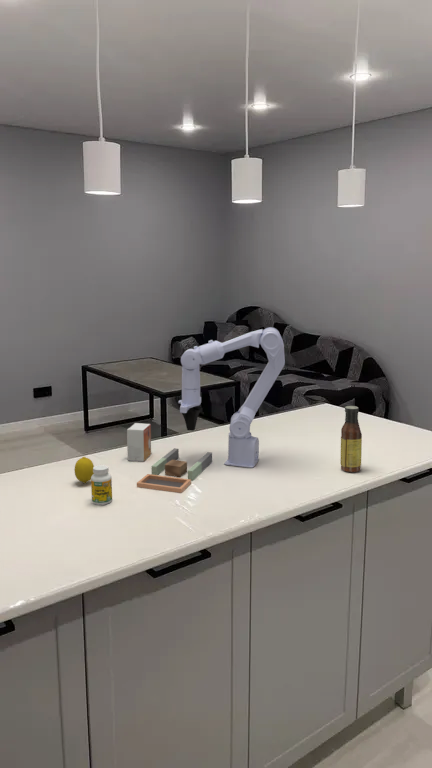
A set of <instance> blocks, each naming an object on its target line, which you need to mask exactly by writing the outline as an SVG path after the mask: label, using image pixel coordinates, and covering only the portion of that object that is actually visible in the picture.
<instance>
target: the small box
mask: <svg viewBox="0 0 432 768" xmlns="http://www.w3.org/2000/svg"><path fill="white" fill-rule="evenodd" d="M151 427H152V425H151V423H141V422H134V423H133V424H132V425H131V426H130V427H128V428H127V429H126V444H127V445H126V446H127V449H126V450H127V451H126V452H127V461H133V462H145V461H146V460H147V459H148V458H149V457H150V456H151V455H152V431H151V430H152V428H151Z"/></svg>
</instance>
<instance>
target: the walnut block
mask: <svg viewBox="0 0 432 768" xmlns="http://www.w3.org/2000/svg"><path fill="white" fill-rule="evenodd" d="M186 473H187V474H188V461H185V460H178V459H176V460H171V461H169V462H168V463H166V464H165V469H164V476H167V477H175V478H181V477H183V476H184V475H185V474H186Z"/></svg>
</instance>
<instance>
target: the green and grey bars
mask: <svg viewBox="0 0 432 768" xmlns="http://www.w3.org/2000/svg"><path fill="white" fill-rule="evenodd" d="M179 452H180V451H179V448H173V449H171V450H170V451H168V453H166V454H165V455H164V456H162V457H161V458H160V459H158V460H157V461H156V462H155V463H153V464H152V465H151V467H150V469H151V474H152V475H159V474H161V473H163V471H165V464H166V463H168V462H169V461H171V460H178V459H179V458H180V457H179V454H180V453H179ZM212 462H213V452H209V451H207V452H206V453H205V454H204V455H203V456H202V457H201V458H200V459H198V461H196V462H195V463H194V464H193V465H192V466H191V467H190V468H189V469H187V479H191V482H194V480H195V479H196V478H197V477H198V476H199V475H200V474H201V473H202V472H203V471H204V470H205V469H206V468H207V467H208V466H210V464H211V463H212Z"/></svg>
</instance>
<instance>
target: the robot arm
mask: <svg viewBox="0 0 432 768" xmlns="http://www.w3.org/2000/svg"><path fill="white" fill-rule="evenodd" d="M249 346H250V347H254V348H257V349H259V348H260V346H261V348H262V349H263V350H264V352H265V354H266V357H267V360H268V362H267V364H266V365H265V367H264V368H263V370H262V372H261V374H260V376H259V377H258V379H257V381H256V382H255V384H254V386H253V387H252V389H251V390H250V392H249V394H248V396H247V397H246V399H245V401H244V403H243V404H242V405H241V406H240V407H239V409H238V411H236V412H235V413H233V415H231V417H230V423H229V432H228V442H227V443H228V452H227V453H228V455H227V459H226V461H224V463H223V465H225V466H233V467H243V468H252V469H253V468H255V466H256V464H258V462H259V461H260V457H259V456H260V455H259V454H260V451H259V450H260V440H259V437H257V436H253V435H252V432H251V424H252V422H253V420H254V418H255V415H256V413H257V412H258V410H259V408H260V407H261V405H262V403H263V402H264V400H265V398H266V397H267V395H268V393H269V391H270V390H271V388H272V387H273V386H274V384H275V382H276V380H277V378H278V377H279V375H280V373H281V372H282V370H283V368H284V367H285V364H286V361H285V359H286V358H285V357H286V356H285V344H284V341H283V338H282V335H281V334H280V331H279V330H278V329H277V328H275V327H272V326H270V327H269V326H268V327H266V328H264V329H263V328H261V329H257V330H254V331H253V330H252V331H249V332H247V333H244V334H242V335H240V336H237V337H234V338H232V339H229V340H226V341H223V342H221V341H218V340H213V339H210V340H208V343H204V344H202V345H199V346H198V345H195V346H193V348H188V349H187V350H185V351H184V352H183V354H182V355H181V357H180V364H181V399H179V400H178V402H177V403H178V404H180V407H179V413H180V414H182V417H183V419H184V422H185V425H186V429H187V431H195V430H196V426H197V421H198V418H199V415H200V412H201V411H202V406H200V405H201V403H202V396H201V373H200V365H206V364H209V363H212V362H214V361H217V360H221V359H223V358H224V356H225V354H226V353H229V352H233V351H235V350H239V349H242V348H245V347H249Z"/></svg>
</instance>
